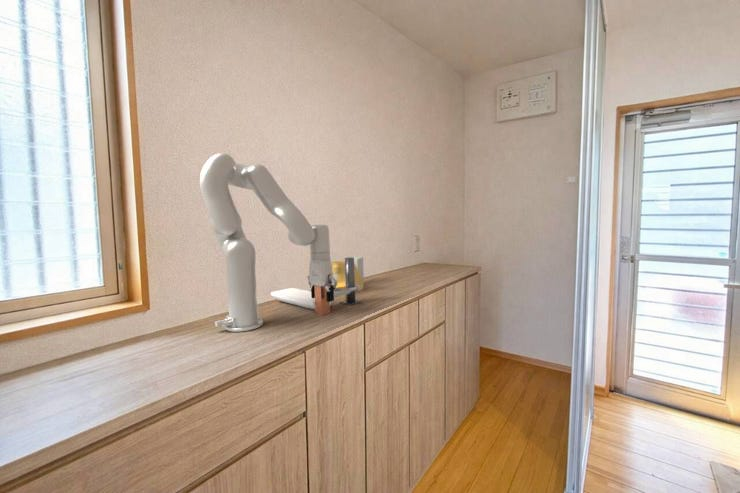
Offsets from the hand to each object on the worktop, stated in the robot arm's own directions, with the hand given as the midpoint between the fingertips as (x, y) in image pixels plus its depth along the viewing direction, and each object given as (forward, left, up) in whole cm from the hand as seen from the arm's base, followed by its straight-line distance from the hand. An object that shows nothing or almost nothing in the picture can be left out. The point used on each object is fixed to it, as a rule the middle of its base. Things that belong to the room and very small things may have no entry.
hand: (322, 299), depth 134 cm
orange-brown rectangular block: (0, 0, -6) cm, 6 cm away
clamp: (+31, +21, -6) cm, 38 cm away
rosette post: (+14, +3, -6) cm, 16 cm away
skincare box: (+46, +29, -6) cm, 55 cm away
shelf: (+2, +17, -6) cm, 18 cm away
